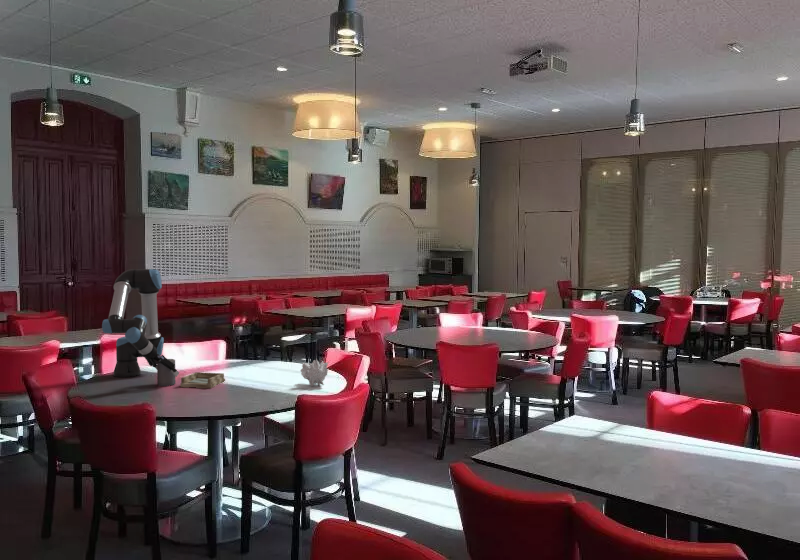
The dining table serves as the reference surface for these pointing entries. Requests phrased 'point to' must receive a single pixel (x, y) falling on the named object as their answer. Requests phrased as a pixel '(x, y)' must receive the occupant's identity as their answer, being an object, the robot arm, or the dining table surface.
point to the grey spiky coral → (314, 372)
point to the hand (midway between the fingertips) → (170, 373)
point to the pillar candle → (165, 375)
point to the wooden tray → (202, 380)
